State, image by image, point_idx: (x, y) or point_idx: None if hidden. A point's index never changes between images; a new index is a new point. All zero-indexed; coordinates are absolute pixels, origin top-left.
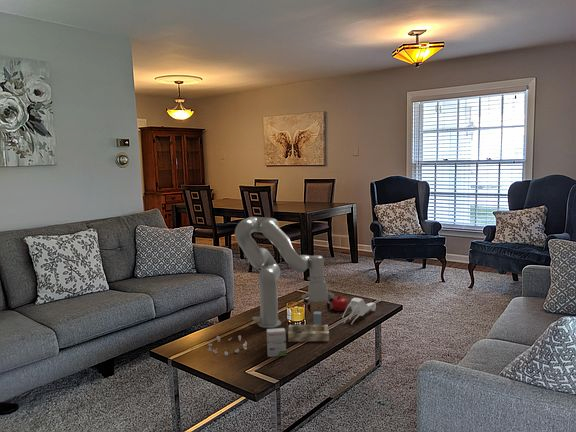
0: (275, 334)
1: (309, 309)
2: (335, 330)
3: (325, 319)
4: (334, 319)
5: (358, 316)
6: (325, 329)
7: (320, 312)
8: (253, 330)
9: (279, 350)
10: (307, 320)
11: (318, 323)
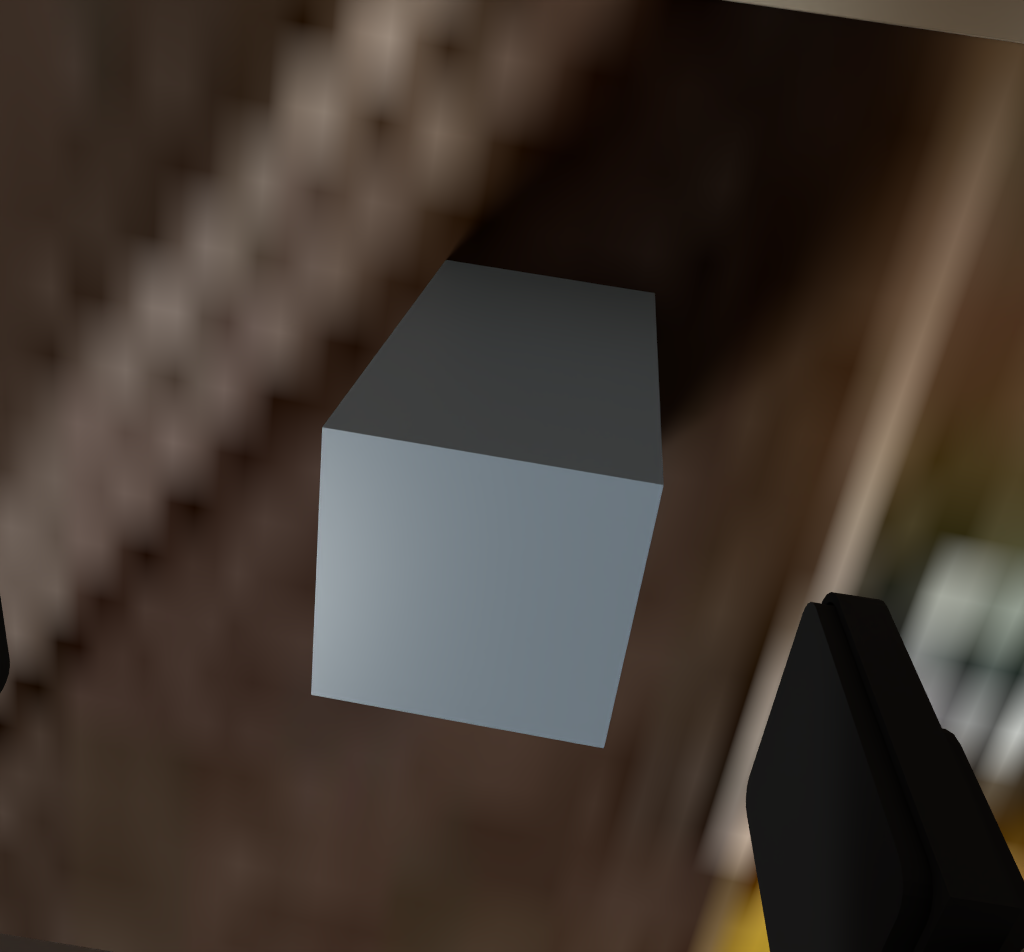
0: None
1: (896, 670)
2: (71, 43)
3: (286, 775)
4: (99, 735)
5: None
6: None
7: (340, 606)
8: None
9: None
10: (684, 811)
11: (508, 317)
